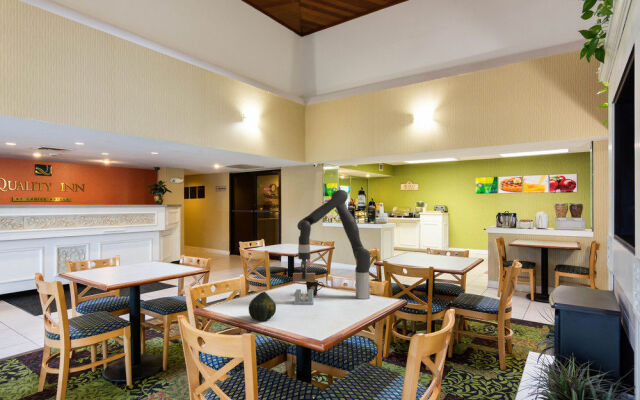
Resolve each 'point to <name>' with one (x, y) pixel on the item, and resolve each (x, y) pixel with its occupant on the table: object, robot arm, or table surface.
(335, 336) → the table surface
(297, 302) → the display stand
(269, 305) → the squash
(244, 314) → the table surface
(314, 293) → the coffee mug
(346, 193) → the robot arm
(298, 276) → the glasses bar
